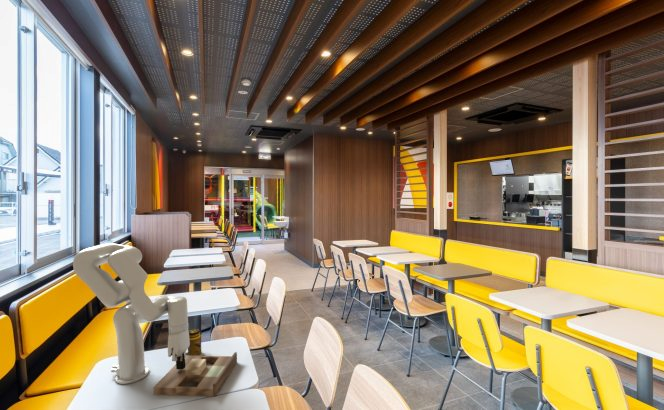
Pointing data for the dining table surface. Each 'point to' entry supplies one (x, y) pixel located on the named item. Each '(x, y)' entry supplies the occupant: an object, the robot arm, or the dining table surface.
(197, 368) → the maple block
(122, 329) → the robot arm
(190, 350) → the condiment
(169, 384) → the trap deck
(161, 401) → the dining table surface
